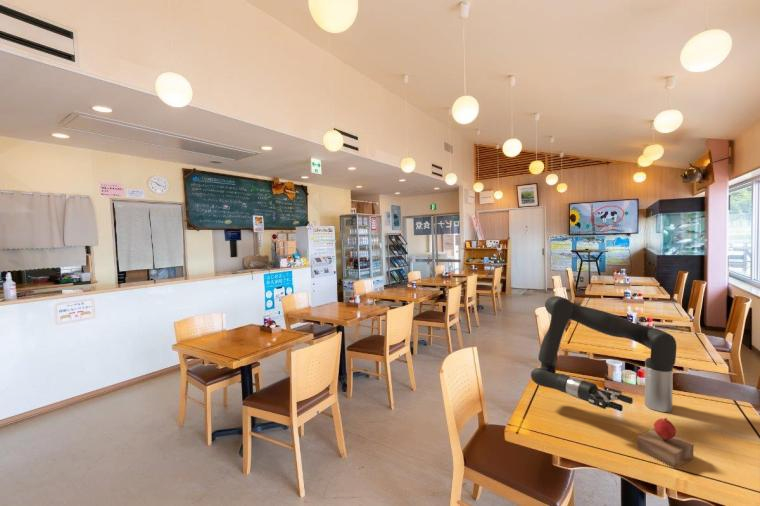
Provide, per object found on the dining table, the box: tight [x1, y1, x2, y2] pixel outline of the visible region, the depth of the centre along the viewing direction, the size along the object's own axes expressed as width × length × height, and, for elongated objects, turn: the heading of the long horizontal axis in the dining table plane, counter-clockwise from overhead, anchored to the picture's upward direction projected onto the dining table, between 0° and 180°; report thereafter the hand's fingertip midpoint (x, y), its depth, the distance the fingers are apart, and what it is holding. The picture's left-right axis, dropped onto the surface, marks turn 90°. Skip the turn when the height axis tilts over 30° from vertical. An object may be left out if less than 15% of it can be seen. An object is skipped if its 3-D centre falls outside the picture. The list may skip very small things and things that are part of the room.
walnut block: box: [637, 428, 695, 469], centre depth 120 cm, size 11×11×5 cm
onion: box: [653, 416, 677, 440], centre depth 120 cm, size 6×6×8 cm
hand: (627, 404), depth 128 cm, fingers open, 8 cm apart
